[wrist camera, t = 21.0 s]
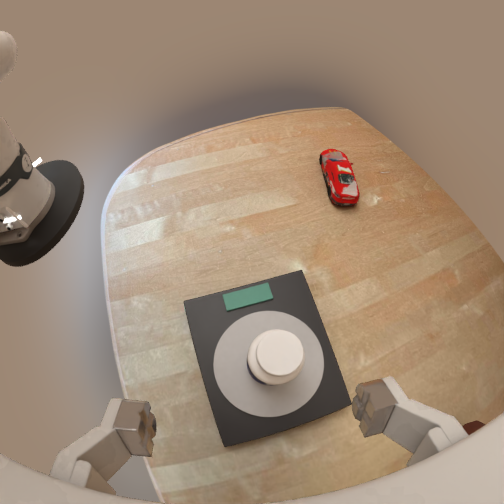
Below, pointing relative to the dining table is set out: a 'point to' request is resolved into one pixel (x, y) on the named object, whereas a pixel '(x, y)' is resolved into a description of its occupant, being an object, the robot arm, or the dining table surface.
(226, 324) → the scale
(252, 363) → the pill bottle
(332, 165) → the race car
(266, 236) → the dining table surface
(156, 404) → the dining table surface
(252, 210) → the dining table surface
